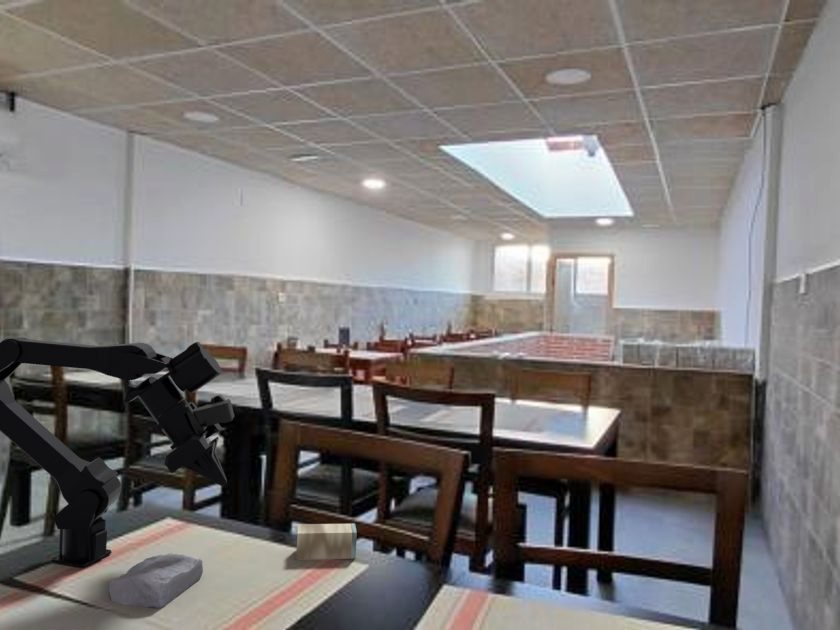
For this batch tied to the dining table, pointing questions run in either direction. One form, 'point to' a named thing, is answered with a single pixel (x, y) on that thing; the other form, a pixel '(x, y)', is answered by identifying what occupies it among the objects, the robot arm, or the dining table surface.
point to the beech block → (326, 541)
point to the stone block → (156, 580)
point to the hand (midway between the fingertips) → (224, 483)
